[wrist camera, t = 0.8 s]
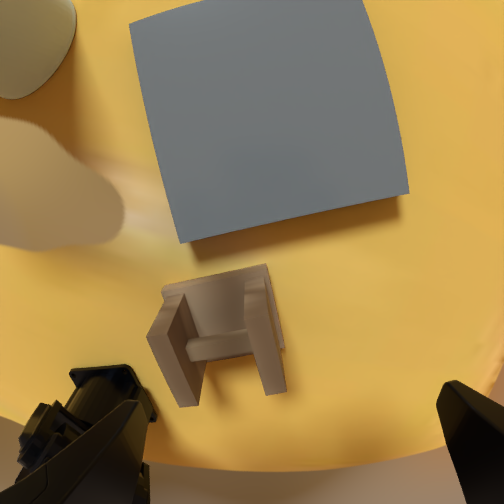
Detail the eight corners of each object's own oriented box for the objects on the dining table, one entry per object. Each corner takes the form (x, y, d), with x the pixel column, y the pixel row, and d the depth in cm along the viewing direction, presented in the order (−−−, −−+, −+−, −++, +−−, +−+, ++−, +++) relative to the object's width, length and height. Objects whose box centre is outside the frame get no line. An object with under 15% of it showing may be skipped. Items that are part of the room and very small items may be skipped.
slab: (186, 235, 20) (180, 243, 18) (139, 34, 16) (128, 24, 14) (395, 189, 19) (409, 193, 17) (346, -5, 15) (355, -17, 13)
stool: (191, 355, 23) (177, 412, 17) (165, 284, 21) (138, 331, 15) (283, 338, 23) (293, 395, 17) (266, 262, 21) (272, 305, 15)
